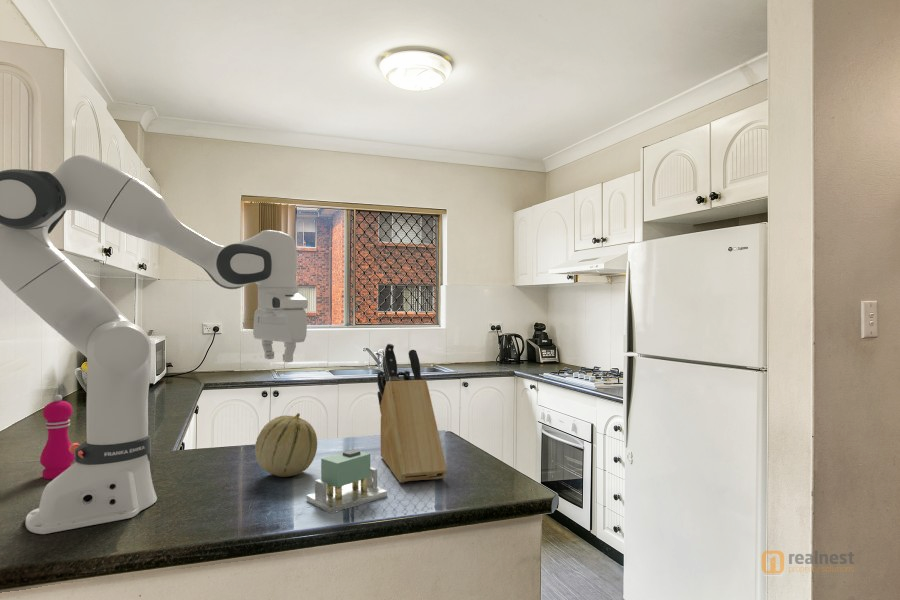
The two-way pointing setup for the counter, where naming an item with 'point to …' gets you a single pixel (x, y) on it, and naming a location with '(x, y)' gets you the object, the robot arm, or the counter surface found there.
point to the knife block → (408, 422)
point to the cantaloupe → (286, 446)
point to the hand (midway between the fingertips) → (278, 360)
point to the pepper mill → (57, 438)
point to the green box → (345, 468)
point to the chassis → (346, 493)
